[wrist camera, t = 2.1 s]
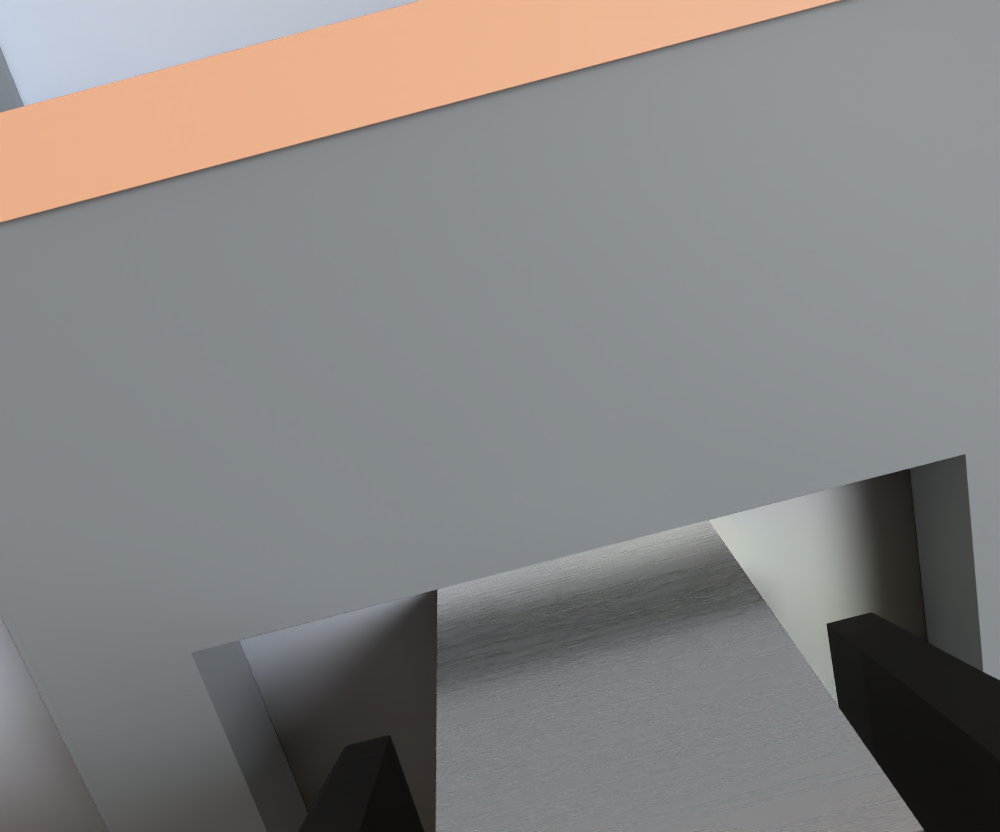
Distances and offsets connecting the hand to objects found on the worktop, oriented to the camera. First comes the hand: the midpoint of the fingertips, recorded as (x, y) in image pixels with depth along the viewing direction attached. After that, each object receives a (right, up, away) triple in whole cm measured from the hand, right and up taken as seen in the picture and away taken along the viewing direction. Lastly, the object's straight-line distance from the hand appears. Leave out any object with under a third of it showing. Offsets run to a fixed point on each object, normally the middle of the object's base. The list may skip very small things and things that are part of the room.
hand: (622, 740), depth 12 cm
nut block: (0, +1, +2) cm, 2 cm away
